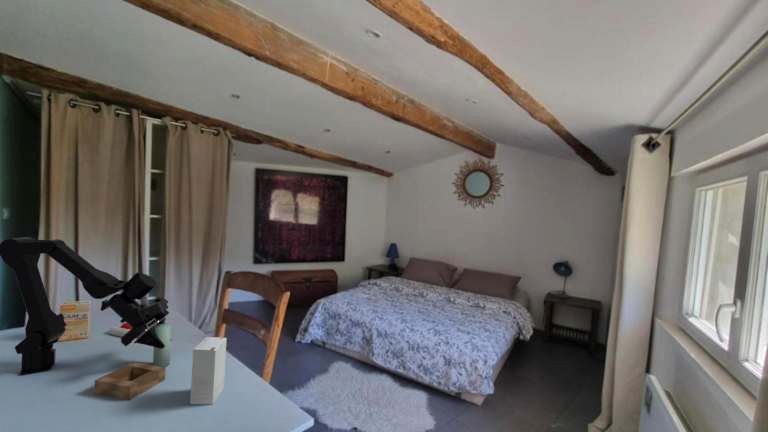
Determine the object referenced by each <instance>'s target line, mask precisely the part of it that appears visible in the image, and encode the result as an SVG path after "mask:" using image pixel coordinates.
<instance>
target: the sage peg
mask: <svg viewBox="0 0 768 432" xmlns="http://www.w3.org/2000/svg"><path fill="white" fill-rule="evenodd" d="M154 333H155V334H156V335H157V337H158V338H159V339H160V340H161V341H162V342H163V344H164V345H165V347H164V348H163V349H160V348H156V347H153V356H152V357H153V360H152V366H158V367H164V368H165V369H166V368H167V367H168V366H170V364H171V363H170V361H171V342H172V338H171V337H172V336H171V335H172V324H170V323H165V324H159V325H156V326H155V327H154Z"/></svg>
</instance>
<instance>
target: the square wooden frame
mask: <svg viewBox="0 0 768 432" xmlns="http://www.w3.org/2000/svg"><path fill="white" fill-rule="evenodd" d="M165 380H166V367H165V368H164V367H158V366H153V364H152V365H150V364H145V363H140V362H131V363H129V364H127V365H125V366H124V365H123V367H120V368H118V369H116V370H114V371H112V372H108V374H105V375H103V376H101V377H99V378H96V379H95V380H94V390H93V391H94V392H93V394H96V395H100V396H101V395H102V396H107V397H111V398H116V399H122V400H127V401H131V400H132V399H135V398H136V397H138V396H140V395H142V394H143V393H144V392H146V391H148V390H149V389H151V388H153V387H155V386H156V385H158V384H160V383H162V382H163V381H165Z"/></svg>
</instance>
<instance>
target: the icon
mask: <svg viewBox="0 0 768 432" xmlns="http://www.w3.org/2000/svg"><path fill="white" fill-rule="evenodd" d="M131 329H132V327H131V326H130V325H128V324H127V323H126V322H124V323H121V324H119V325H115V326H112V327H111V328H110V329H109V331H108V332H109V334H110V335H111V336H112V335H113V336H116V337H121V338H122V337H123V336H124V335H125V334H126V333H127V332H128V331H130V330H131Z"/></svg>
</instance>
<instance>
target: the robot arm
mask: <svg viewBox="0 0 768 432" xmlns="http://www.w3.org/2000/svg"><path fill="white" fill-rule="evenodd" d="M42 254H46V255H48V256H49V257H50V258H52V259H53V260H54V261H55V262H56V263H58V264H59V265H60V266H61V267H63V268H64V269H65V270H67V271H68V272H69V273H70V274H72V275H74V277H76V278H77V279H78V280H79V281H80V282H81V284H82V287H83V289H84V290H85V292H86V293H88V295H89V296H90V297H91V298H93V299H95V300H102V299H105V298H107V297H109V296H111V297H110V298H109V299H105V300H102V301H100V302H101V306H100V312H101V311H102V312H103V311H106V310H108V309H109V308H110V309H111V310H112V311H113V312H114V313H116V315H117V316H119V317H120V318H121V320H120V321H119V322H120V323H121V324H124V323H127V324H128V325H130V326H131V327H132V329H131V330H130V331H128V332H127V333H126V334H125V335H124V336H123V337H121V338H120V343H121V344H122V345H124V347H128V346H129V345H130V344H131V343H132V342H133V341H134V342H133V343H134V344H140V345H145V346H149V347H153V348H154V347H156V348H160V349H163V348H164V347H165V345H164V344H163V342H162V341H161V340H160V339H159V338H158V337H157V335H156V334H155V333H154V327H155V326H156V325H159V324H166V319H167V318H166V317H167V316H168V315H169V314H170V312H169V310H167V309H169V305H168V303H169V300H167V299H166V298H164V297H163V296H160V297H157V298H155V299H154V301H153V303H151V304H149V305H147V304H146V303H141V304H140V303H139V302H138V301H137V300H139V301H140V300H142V299H143V298H145V297H146V296H147V295H148V294H149V293H151V292H152V291H153V290H154V289H155V288H157V285H158V284H157V281H156V280H155V278H153V277H152V276H149V275H148V274H145V273H143V272H142V271H138V272H136V273H134V274H133V275H132V277H131V278H130V279H128V280H123V279H122V280H121V279H119V278H118V277H116V276H114V275H112V274H110V273H108V272H107V271H103V270H100V269H98V268H96V267H95V266H93V265H92V264H91V263H89V262H88V261H87V260H86V259H84V258H83V257H82V256H81V255H80V254H78V253H77V252H76V251H74V250H73V249H72V248H71V247H70V246H68V245H67V244H66V242H65V241H64V240H63V239H60V238H57V239H35V238H33V237H31V236H25V237H15V238H6V239H4V240H3V241H1V242H0V259H1V261H2V262H3V263H4V264H5V265H7V266H8V267H9V268H11V269H12V271H13V273H14V275H15V279H16V282H17V284H18V287H19V291H20V293H21V294H20V295H21V298H22V300H23V304H24V306H25V309H26V313H27V316H28V318H27V321H26V325H25V328H24V332H25V338H23V340H21V341H20V342H19V343H18V344H17V345H15V346H14V349H15V352H16V355H21V370H20V372H19V376H21V375H28V374H33V373H40V372H45V371H46V372H47V371H50V370H51V369H52V367H53V366H55V363H56V355H57V354H56V353H57V349H56V348H54V344H56V343H59V342H58V340H59V338H60V337H61V336H62V335H63V333H64V332H65V326H67V324H66V323H65V321H64V316H63V314H62V313H61V314H60V313H59V314H56V312H54V311H53V310H52V307H51V305H50V302H49V299H48V296H47V293H46V289H45V285H44V283H43V280H42V279H43V278H42V276H41V273H40V269H39V267H38V265H39V261H40V258H41V255H42ZM119 292H120V293H119Z"/></svg>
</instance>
